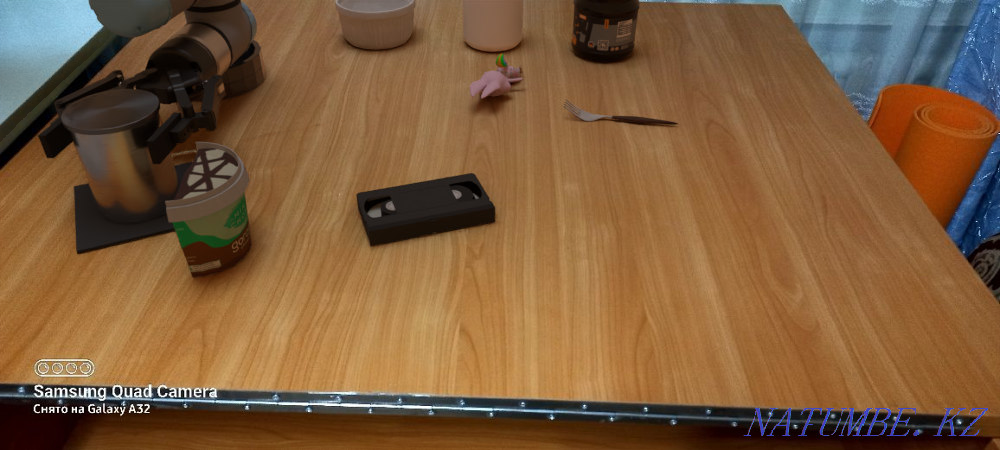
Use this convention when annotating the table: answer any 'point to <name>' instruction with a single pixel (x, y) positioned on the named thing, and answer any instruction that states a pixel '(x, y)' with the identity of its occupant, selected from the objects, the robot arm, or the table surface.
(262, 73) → the shallow dark brown bowl
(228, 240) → the food container
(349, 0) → the ramekin
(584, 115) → the fork
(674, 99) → the table surface
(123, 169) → the small pot
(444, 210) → the vhs tape
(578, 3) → the supplement container
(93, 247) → the mat
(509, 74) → the rabbit figure
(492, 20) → the cup
